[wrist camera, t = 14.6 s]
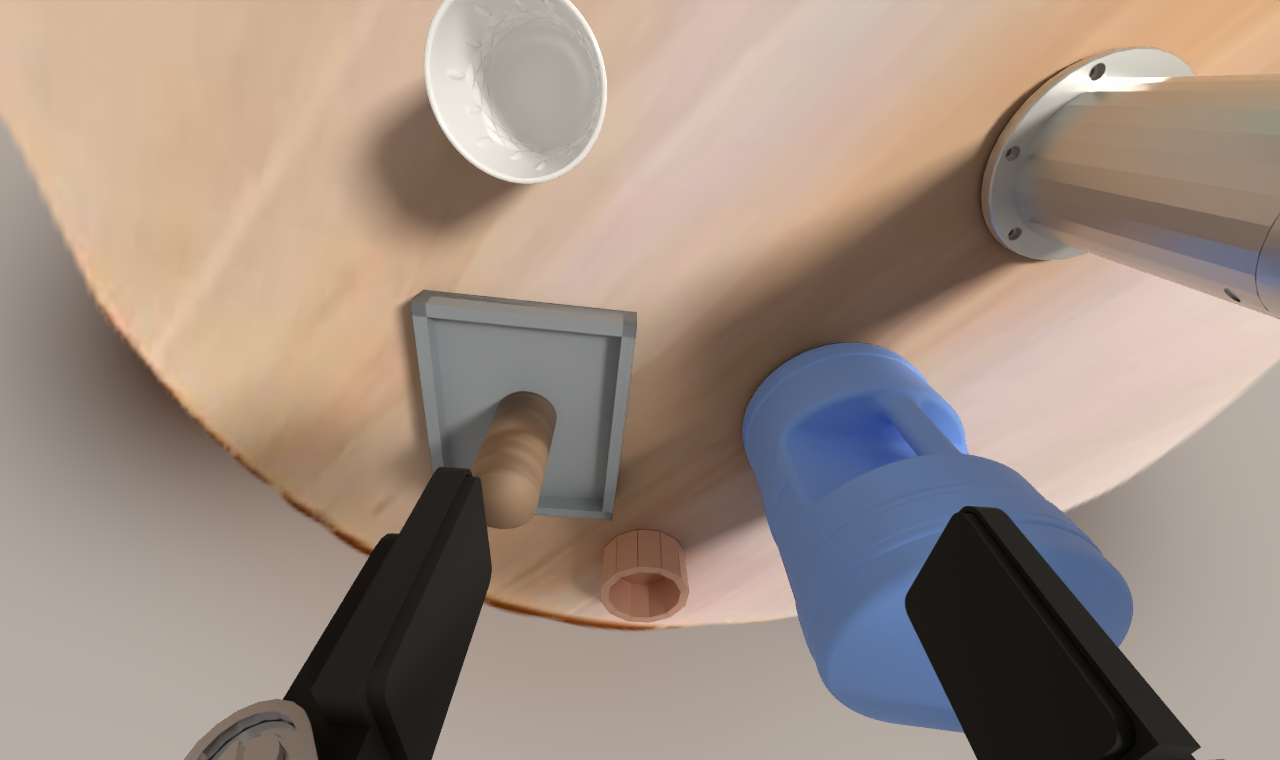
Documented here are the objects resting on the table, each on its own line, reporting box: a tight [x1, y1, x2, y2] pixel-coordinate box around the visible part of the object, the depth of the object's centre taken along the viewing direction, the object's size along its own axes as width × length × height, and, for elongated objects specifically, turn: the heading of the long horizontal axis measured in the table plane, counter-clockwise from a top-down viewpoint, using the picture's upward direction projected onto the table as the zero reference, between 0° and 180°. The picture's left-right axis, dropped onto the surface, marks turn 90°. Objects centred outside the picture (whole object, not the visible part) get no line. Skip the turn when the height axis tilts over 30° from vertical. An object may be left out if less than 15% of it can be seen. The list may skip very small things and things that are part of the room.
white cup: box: [424, 0, 607, 184], centre depth 25 cm, size 8×8×10 cm
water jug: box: [742, 342, 1133, 733], centre depth 31 cm, size 16×16×28 cm
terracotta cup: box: [600, 530, 689, 622], centre depth 50 cm, size 9×9×4 cm
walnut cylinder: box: [471, 391, 557, 529], centre depth 37 cm, size 5×5×10 cm
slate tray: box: [410, 290, 637, 520], centre depth 41 cm, size 16×20×2 cm
